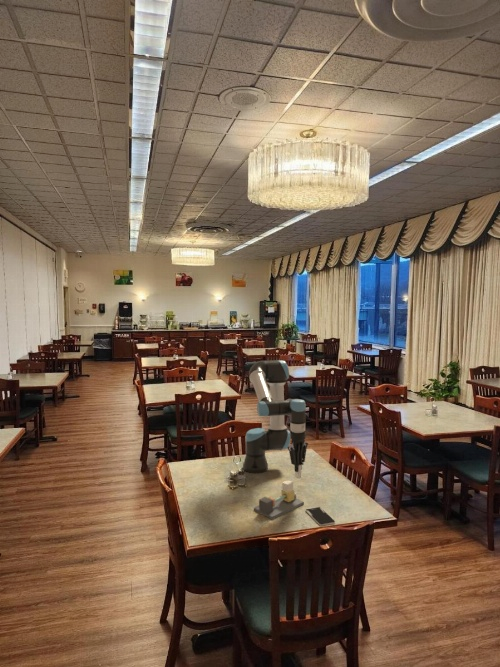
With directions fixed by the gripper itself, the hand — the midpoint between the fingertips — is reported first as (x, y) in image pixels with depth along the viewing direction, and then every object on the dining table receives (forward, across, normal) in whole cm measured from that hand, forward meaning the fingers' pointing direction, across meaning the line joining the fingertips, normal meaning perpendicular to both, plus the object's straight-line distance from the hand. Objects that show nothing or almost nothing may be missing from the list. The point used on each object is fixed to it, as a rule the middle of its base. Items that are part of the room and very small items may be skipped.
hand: (298, 477), depth 206 cm
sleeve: (+9, -7, 0) cm, 12 cm away
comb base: (+11, -13, 0) cm, 17 cm away
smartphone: (+12, -6, -19) cm, 23 cm away
